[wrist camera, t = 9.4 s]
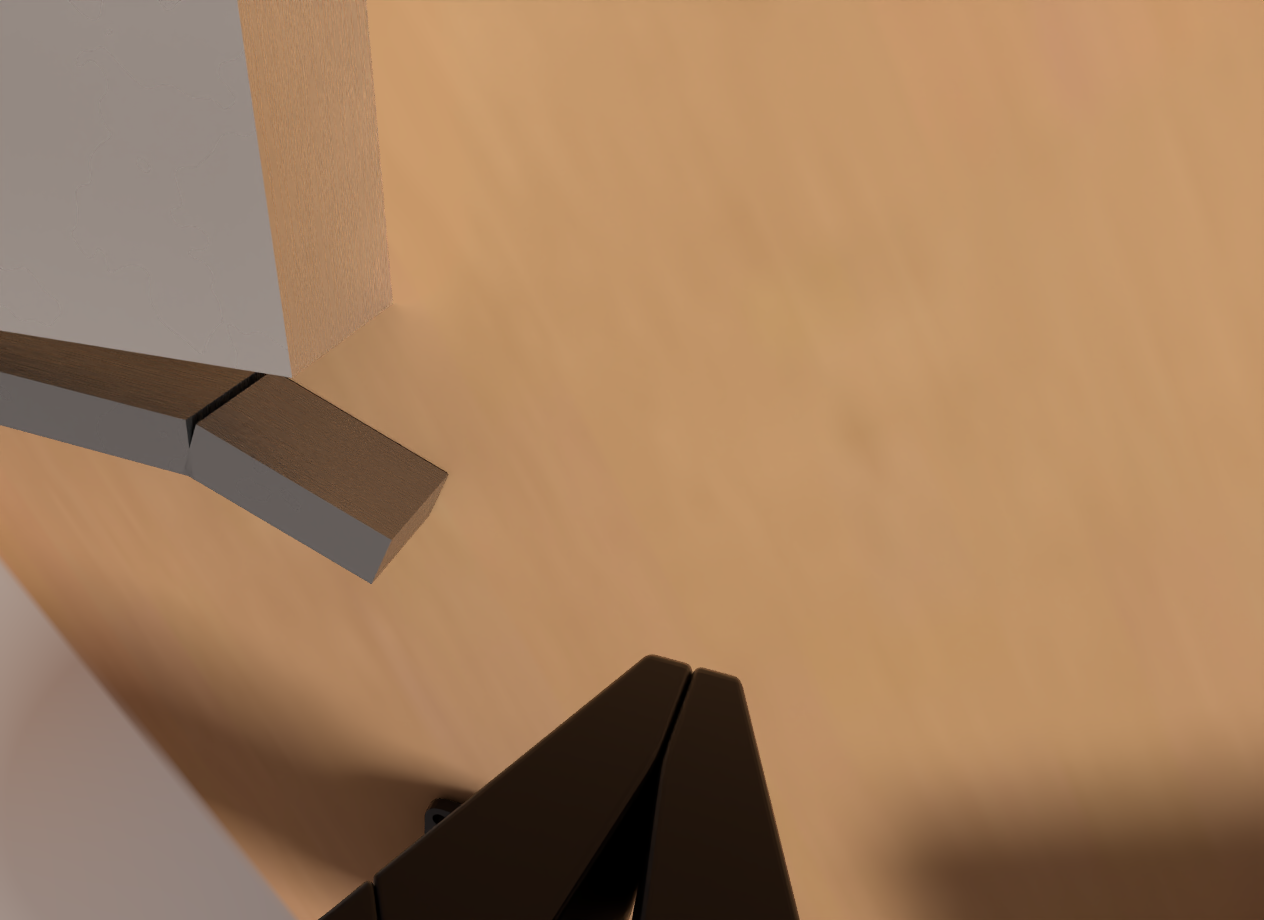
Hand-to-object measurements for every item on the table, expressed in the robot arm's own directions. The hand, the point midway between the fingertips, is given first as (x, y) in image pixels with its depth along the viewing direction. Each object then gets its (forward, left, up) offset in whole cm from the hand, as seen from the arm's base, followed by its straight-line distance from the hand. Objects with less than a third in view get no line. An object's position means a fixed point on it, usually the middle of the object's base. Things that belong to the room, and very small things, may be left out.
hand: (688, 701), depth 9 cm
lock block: (0, +16, -13) cm, 21 cm away
